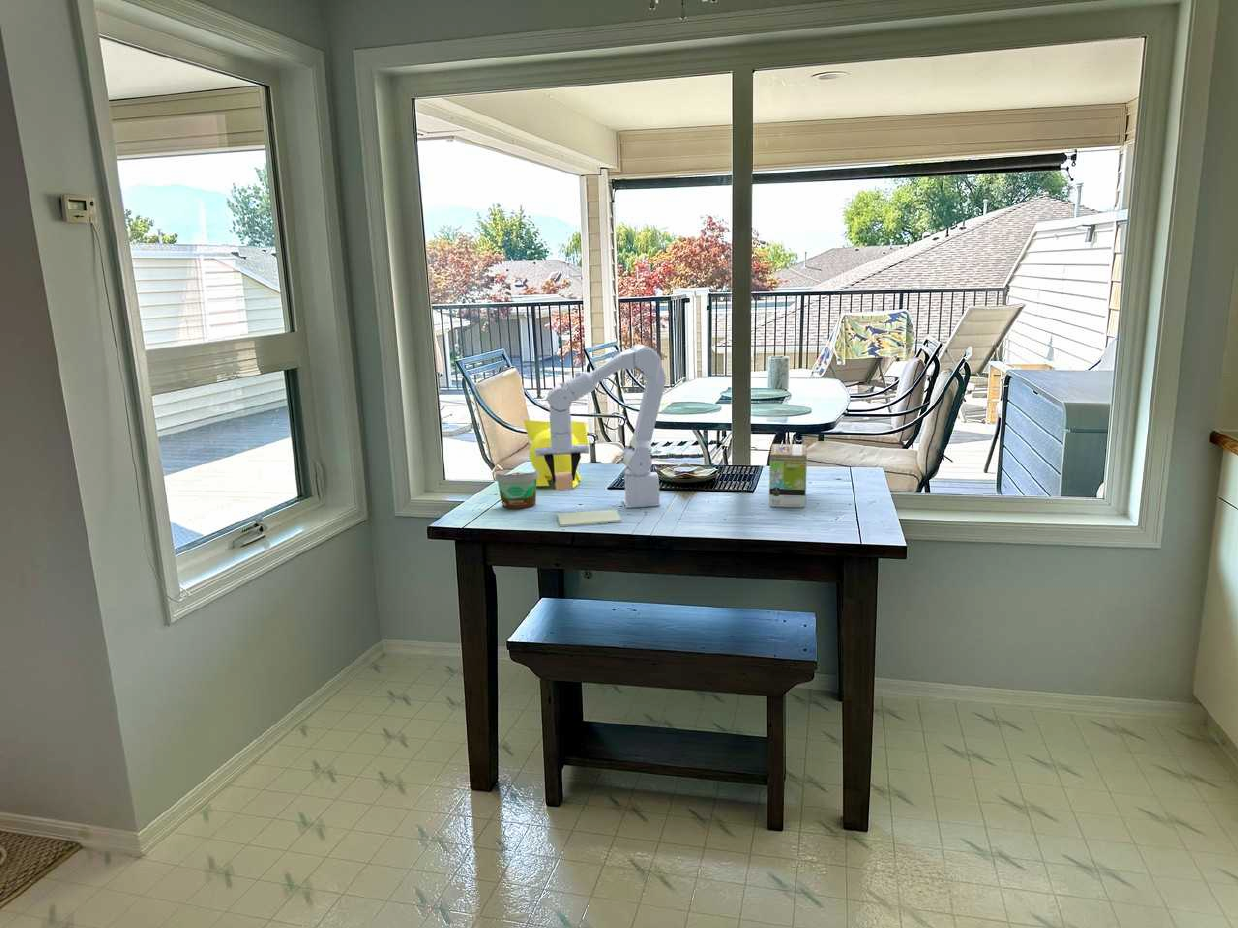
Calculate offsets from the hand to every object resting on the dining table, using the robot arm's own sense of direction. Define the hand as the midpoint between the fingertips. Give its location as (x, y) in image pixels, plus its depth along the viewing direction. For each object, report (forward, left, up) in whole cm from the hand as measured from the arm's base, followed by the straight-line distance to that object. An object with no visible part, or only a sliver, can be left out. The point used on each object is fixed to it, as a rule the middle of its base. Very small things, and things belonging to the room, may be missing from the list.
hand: (563, 480), depth 240 cm
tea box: (-62, +5, -9) cm, 62 cm away
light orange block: (0, 0, -2) cm, 2 cm away
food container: (+12, -7, -9) cm, 17 cm away
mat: (-6, +9, -9) cm, 14 cm away
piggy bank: (0, -33, -9) cm, 34 cm away
